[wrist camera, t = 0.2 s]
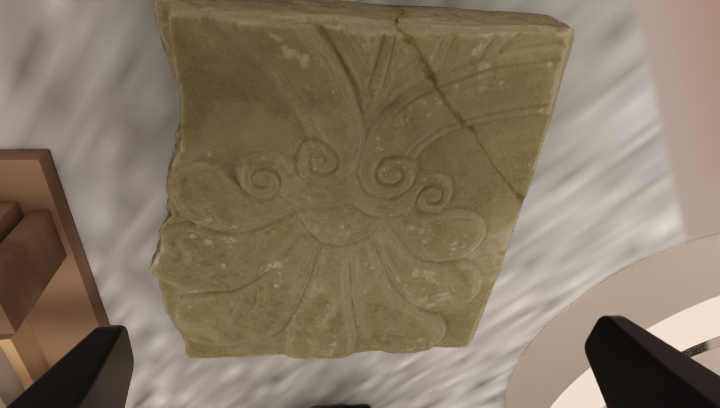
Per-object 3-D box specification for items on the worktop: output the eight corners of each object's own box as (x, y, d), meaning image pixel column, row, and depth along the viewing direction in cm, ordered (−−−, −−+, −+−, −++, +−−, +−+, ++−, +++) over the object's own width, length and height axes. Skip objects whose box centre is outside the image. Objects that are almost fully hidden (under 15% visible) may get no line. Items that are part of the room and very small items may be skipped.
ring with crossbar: (447, 443, 40) (465, 501, 36) (644, 186, 27) (706, 232, 23) (670, 457, 48) (705, 505, 44) (905, 266, 35) (984, 310, 31)
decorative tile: (553, 13, 20) (599, 29, 17) (457, 317, 31) (476, 359, 28) (123, -29, 17) (88, -19, 14) (179, 325, 28) (166, 374, 25)
